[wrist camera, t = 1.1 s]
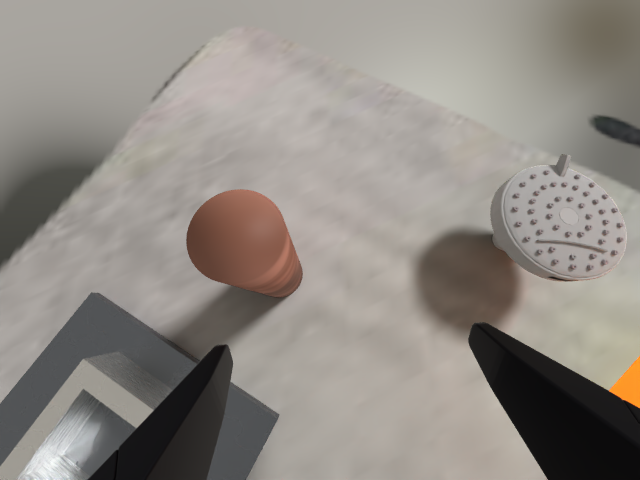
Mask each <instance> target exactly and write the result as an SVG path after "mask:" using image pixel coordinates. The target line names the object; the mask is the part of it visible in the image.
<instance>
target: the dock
mask: <svg viewBox="0 0 640 480" xmlns="http://www.w3.org/2000/svg"><path fill="white" fill-rule="evenodd" d="M199 362H200V361H199V360H197V359H196V358H194V357H193V356H191V355H190V354H188V353H187V352H185V351H184V350H182V349H181V348H180V347H178V346H177V345H175V344H174V343H172V342H171V341H169V340H168V339H166V338H165V337H163V336H162V335H160V334H159V333H157V332H156V331H154V330H153V329H151V328H150V327H148V326H147V325H145V324H144V323H142V322H141V321H139V320H138V319H137V318H135V317H134V316H132V315H131V314H129V313H128V312H126V311H125V310H123V309H122V308H120V307H119V306H117V305H116V304H114V303H113V302H111V301H110V300H108V299H107V298H105V297H104V296H102V295H101V294H99V293H91V294H90V295H89V296H88V297H87V299H86V300H85V301H84V302H83V303H82V305H81V306H80V307H79V308H78V310H77V311H76V312H75V313H74V314H73V316H72V317H71V318H70V319H69V321H68V322H67V323H66V324H65V325H64V327H63V328H62V329H61V330H60V332H59V333H58V334H57V335H56V336H55V338H54V339H53V340H52V341H51V343H50V344H49V345H48V346H47V347H46V349H45V350H44V351H43V352H42V353H41V355H40V356H39V357H38V358H37V360H36V361H35V362H34V363H33V364H32V366H31V367H30V368H29V369H28V371H27V372H26V373H25V374H24V375H23V377H22V378H21V379H20V380H19V382H18V383H17V384H16V385H15V386H14V388H13V389H12V390H11V391H10V393H9V394H8V395H7V396H6V397H5V399H4V400H3V401H2V402H1V404H0V480H87V479H88V478H89V477H90V476H91V475H92V474H93V473H94V472H95V471H96V470H97V469H98V468H99V467H100V466H101V465H102V464H103V463H104V462H105V461H106V460H107V459H108V458H109V457H110V456H111V455H112V453H113V452H114V451H115V450H118V449H119V446H120V445H121V444H122V443H123V442H124V441H125V440H126V439H127V438H128V437H129V436H130V435H131V434H132V433H133V432H134V430H135V429H136V428H137V427H138V426H139V425H140V424H141V423H142V422H143V421H144V420H145V419H146V418H147V417H148V416H149V415H150V414H151V413H152V412H153V411H154V409H155V408H156V407H157V406H158V405H159V404H160V403H161V402H162V401H163V400H164V399H165V398H166V397H167V396H168V395H169V394H170V393H171V392H172V391H173V390H174V388H175V387H176V386H177V385H178V384H179V383H180V382H181V381H182V380H183V379H184V378H185V377H186V376H187V375H188V374H189V373H190V372H191V371H192V370H193V369H194V367H195V366H196V365H197V364H198V363H199ZM278 417H279V414H277V413H276V412H274V411H273V410H271V409H270V408H269V407H267V406H266V405H264V404H263V403H261V402H260V401H258V400H257V399H255V398H254V397H252V396H251V395H249V394H248V393H246V392H245V391H243V390H242V389H240V388H239V387H237V386H236V385H234V384H233V383H231V382H230V386H229V391H228V397H227V403H226V409H225V414H224V418H223V422H222V425H221V429H220V433H219V436H218V440H217V444H216V447H215V451H214V455H213V458H212V462H211V466H210V469H209V473H208V477H207V480H246V478H247V476H248V474H249V472H250V471H251V469H252V467H253V465H254V463H255V461H256V459H257V457H258V455H259V454H260V452H261V450H262V448H263V446H264V444H265V442H266V440H267V438H268V437H269V435H270V433H271V431H272V429H273V427H274V425H275V423H276V421H277V420H278Z"/></svg>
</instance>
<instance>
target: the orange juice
mask: <svg viewBox="0 0 640 480" xmlns="http://www.w3.org/2000/svg"><path fill="white" fill-rule="evenodd" d="M609 391H610V392H612V393H613V394H615V395H617V396H619V397H621V398H622V400H626V401H628V402H630V403H632V404H633V405H635V406H637V407H639V408H640V357H639V358H638V359H637V360H636V361H635V362H634V363H633V364H632V366H631V367H630V368H629V369H628V370H627V371H626V372H625V373H624V375H623V376H622V377H621V378H620V379H619V380H618V381H617V382H616V384H615V385H614V386H613V387H612V388H611V389H610V390H609Z"/></svg>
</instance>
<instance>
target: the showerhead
mask: <svg viewBox="0 0 640 480" xmlns="http://www.w3.org/2000/svg"><path fill="white" fill-rule="evenodd" d="M570 160H571V155H565V154H562V155H561V156H560V158H559V160H558V162H557V165H556V166H555V165H539V166H533V167H530V168H527V169H524V170H522V171H520V172H519V173H517V174H516V175H514V176H513V177H512V178H510V179H509V180H508V181H506V182H505V183H504V184H503V185H502V186H501V187H500V188H499V189H498V190H497V192H496V193H495V195H494V198H493V200H492V204H491V211H490V216H491V224H492V227H493V231H494V234H493V237H492V240H493V243H494V245H495V246H496V247H497V248H498V249H500V250H503V251H505V252H506V253H507V254H508V255H509V257H510V258H511V259H512V260H514V261H515V262H516V263H517V264H518V265H520V266H521V267H522V268H524V269H525V270H527V271H529V272H531V273H533V274H535V275H537V276H539V277H542V278H545V279H549V280H553V281H579V280H590V279H595V278H598V277H601V276H603V275H605V274H607V273H608V272H610V271H611V270H612V269H614V268H615V267H616V266H617V265H618V263H619V262H620V260H621V258H622V257H623V255H624V253H625V248H626V243H627V234H626V227H625V223H624V219H623V217H622V215H621V212H620V210H619V209H618V207H617V205H616V204H615V202H614V201H613V199H612V198H611V197H610V196H609V195H608V194H607V193H606V191H605V190H604V189H603V188H601V187H600V186H599V185H598V184H597V183H595V182H594V181H593V180H591V179H589V178H588V177H586V176H585V175H583V174H581V173H579V172H576V171H574V170H572V169H568V167H569V163H570Z"/></svg>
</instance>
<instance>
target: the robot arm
mask: <svg viewBox="0 0 640 480" xmlns="http://www.w3.org/2000/svg"><path fill="white" fill-rule="evenodd" d="M468 342H469V346H470V348H471V350H472V352H473V354H474V356H475V358H476V360H477V362H478V364H479V366H480V368H481V370H482V372H483V374H484V375H485V377H486V379H487V381H488V383H489V385H490V387H491V389H492V390H493V392H494V394H495V395H496V397H497V399H498V400H499V402H500V403H501V405H502V407H503V408H504V410H505V411H506V413H507V415H508V416H509V418H510V419H511V421H512V423H513V424H514V426H515V428H516V429H517V431H518V432H519V434H520V436H521V437H522V439H523V440H524V442H525V444H526V445H527V447H528V448H529V450H530V452H531V453H532V455H533V456H534V458H535V460H536V461H537V463H538V464H539V466H540V468H541V469H542V471H543V473H544V474H545V476H546V477H547V479H548V480H640V408H639V407H637V406H635V405H633V404H632V403H630V402H628V401H626V400H622V398H621V397H619V396H617V395H615V394H613V393H612V392H610V391H608V390H606V389H604V388H603V387H601V386H599V385H597V384H595V383H594V382H592V381H590V380H588V379H586V378H585V377H583V376H581V375H579V374H577V373H576V372H574V371H572V370H570V369H568V368H567V367H565V366H563V365H561V364H559V363H558V362H556V361H554V360H552V359H550V358H549V357H547V356H545V355H543V354H541V353H540V352H538V351H536V350H534V349H532V348H531V347H529V346H527V345H525V344H523V343H522V342H520V341H518V340H516V339H515V338H513V337H511V336H509V335H507V334H506V333H504V332H502V331H500V330H498V329H497V328H495V327H493V326H491V325H489V324H487V323H484V322H483V323H474V324H473V325H472V328H471V331H470V335H469V338H468ZM232 368H233V360H232V356H231V353H230V349H229V347H228V345H226V344H225V345H216V346H215V347H214V348H213V349H212V350H211V351H210V352H209V353H208V354H207V355H206V356H205V357H204V358H203V359H202V360H201V361H200V362H199V363H198V364H197V365H196V366H195V367H194V369H193V370H192V371H191V372H190V373H189V374H188V375H187V376H186V377H185V378H184V379H183V380H182V381H181V382H180V383H179V384H178V385H177V386H176V387H175V388H174V390H173V391H172V392H171V393H170V394H169V395H168V396H167V397H166V398H165V399H164V400H163V401H162V402H161V403H160V404H159V405H158V406H157V407H156V408H155V409H154V411H153V412H152V413H151V414H150V415H149V416H148V417H147V418H146V419H145V420H144V421H143V422H142V423H141V424H140V425H139V426H138V427H137V428H136V429H135V430H134V432H133V433H132V434H131V435H130V436H129V437H128V438H127V439H126V440H125V441H124V442H123V443H122V444H121V445H120V446H119V449H118V450H115V451H114V452H113V453H112V455H111V456H110V457H109V458H108V459H107V460H106V461H105V462H104V463H103V464H102V465H101V466H100V467H99V468H98V469H97V470H96V471H95V472H94V473H93V474H92V475H91V476H90V477H89V478H88V479H87V480H207V477H208V473H209V469H210V466H211V462H212V458H213V455H214V451H215V447H216V444H217V440H218V436H219V433H220V429H221V425H222V422H223V418H224V414H225V409H226V403H227V397H228V391H229V386H230V380H231V374H232Z"/></svg>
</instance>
